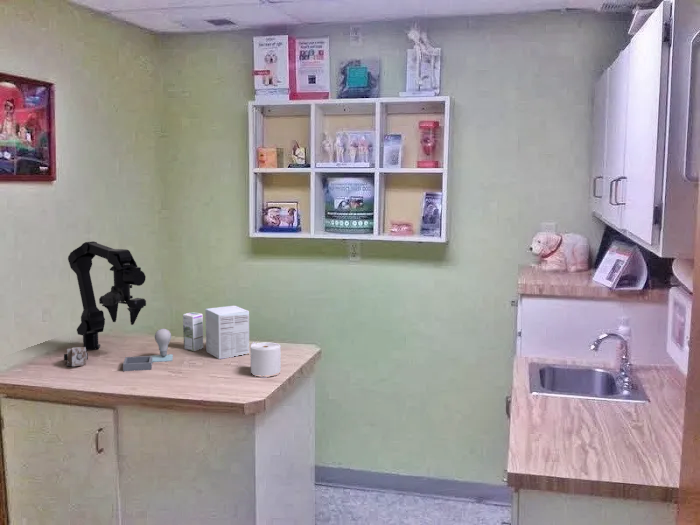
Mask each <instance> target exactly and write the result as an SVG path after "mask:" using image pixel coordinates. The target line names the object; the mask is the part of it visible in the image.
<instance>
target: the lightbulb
mask: <svg viewBox="0 0 700 525" xmlns="http://www.w3.org/2000/svg"><path fill="white" fill-rule="evenodd" d="M154 340H155V342H156V343H157V346H158V350H159V355H160V356H162V357H165V356H166V355H168V347H169V344H170V342H171V340H172V334H171V331H170V330H169V329H166V328H160V329H158V330H157V331H155V334H154Z"/></svg>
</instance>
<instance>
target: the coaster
mask: <svg viewBox="0 0 700 525" xmlns="http://www.w3.org/2000/svg"><path fill="white" fill-rule="evenodd" d="M150 356H152V363H159V362H173V360H174V359H173V357H174V354H170V353H169V354H167V355H166V356H165V357H162V356H160V354H154V355H150Z"/></svg>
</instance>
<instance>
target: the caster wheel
mask: <svg viewBox="0 0 700 525" xmlns="http://www.w3.org/2000/svg"><path fill="white" fill-rule="evenodd" d="M88 360H89V352H87V350H86V347H83V346H79V347H78V346H77V347H72V348H66V353H64V354H63V361H64V362H67V363H66V367H67V366H69V367H80V366H82V367H84V366H83V365H85V366H86V365H87V361H88Z"/></svg>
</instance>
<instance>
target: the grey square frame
mask: <svg viewBox="0 0 700 525" xmlns="http://www.w3.org/2000/svg"><path fill="white" fill-rule="evenodd" d="M152 367H153V362H152V356H151V355H140V356H125V357H124V360H123V363H122V371H123V372H132V371H133V372H136V371H148V370H149V371H150V370H152ZM134 370H135V371H134Z"/></svg>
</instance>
